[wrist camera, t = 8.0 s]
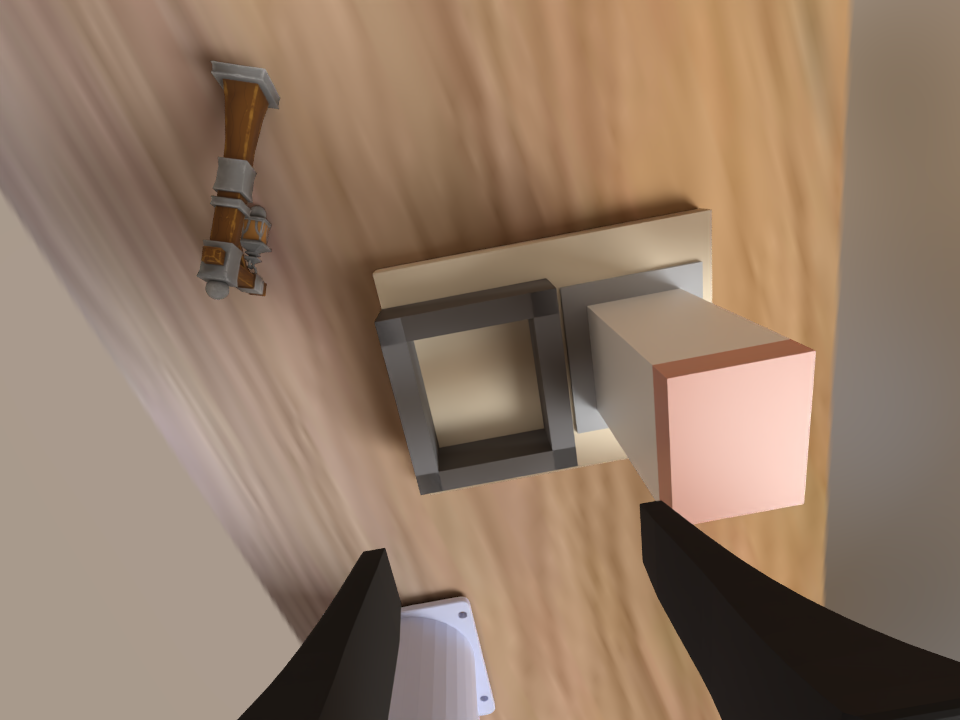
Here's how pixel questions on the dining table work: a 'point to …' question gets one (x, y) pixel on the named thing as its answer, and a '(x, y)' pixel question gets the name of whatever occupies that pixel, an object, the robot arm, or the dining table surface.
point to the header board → (520, 345)
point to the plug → (704, 403)
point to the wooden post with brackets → (238, 185)
